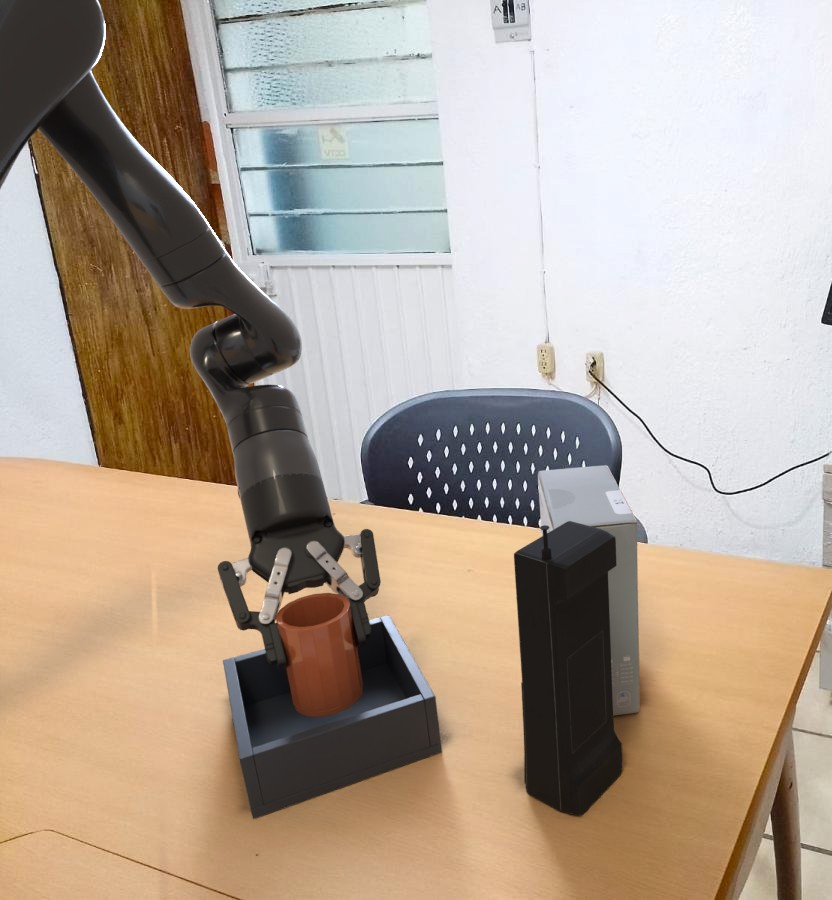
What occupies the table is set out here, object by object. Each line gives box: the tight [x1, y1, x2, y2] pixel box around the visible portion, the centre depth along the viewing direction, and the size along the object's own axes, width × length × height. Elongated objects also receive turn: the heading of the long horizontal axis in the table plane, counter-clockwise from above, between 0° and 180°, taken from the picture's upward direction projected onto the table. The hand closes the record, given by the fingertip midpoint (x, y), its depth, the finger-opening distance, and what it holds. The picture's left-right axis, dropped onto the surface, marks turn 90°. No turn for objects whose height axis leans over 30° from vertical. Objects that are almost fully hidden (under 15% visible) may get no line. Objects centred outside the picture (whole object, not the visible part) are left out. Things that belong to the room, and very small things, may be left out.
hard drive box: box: [537, 465, 641, 717], centre depth 82 cm, size 16×8×20 cm, turn 9°
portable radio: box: [513, 521, 623, 816], centre depth 66 cm, size 8×6×25 cm
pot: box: [275, 592, 363, 717], centre depth 75 cm, size 6×6×9 cm
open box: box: [222, 614, 443, 820], centre depth 77 cm, size 16×16×6 cm
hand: (323, 655), depth 73 cm, fingers closed on pot, 6 cm apart
